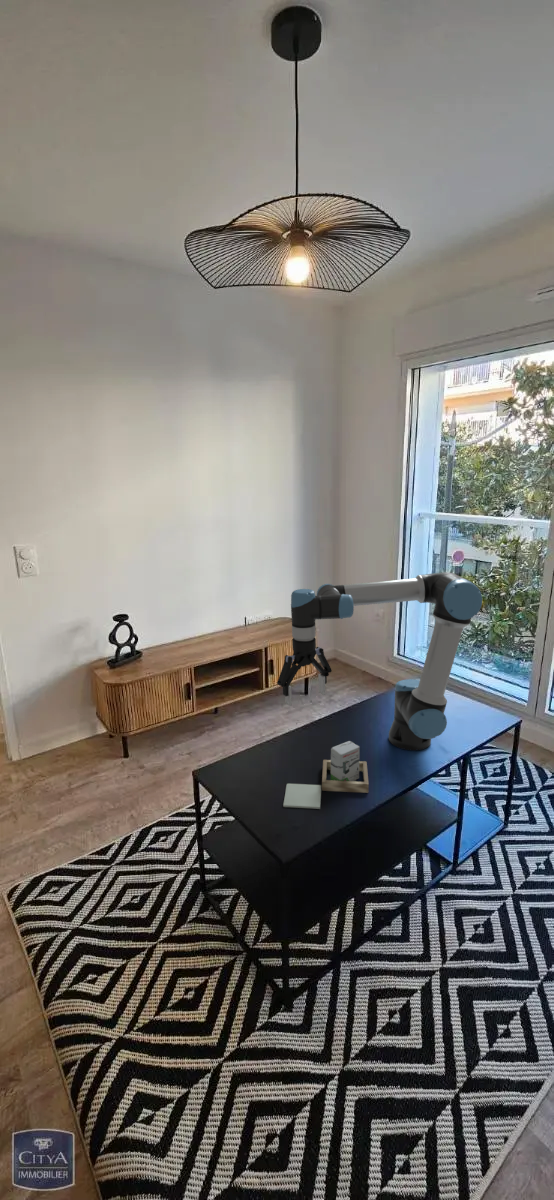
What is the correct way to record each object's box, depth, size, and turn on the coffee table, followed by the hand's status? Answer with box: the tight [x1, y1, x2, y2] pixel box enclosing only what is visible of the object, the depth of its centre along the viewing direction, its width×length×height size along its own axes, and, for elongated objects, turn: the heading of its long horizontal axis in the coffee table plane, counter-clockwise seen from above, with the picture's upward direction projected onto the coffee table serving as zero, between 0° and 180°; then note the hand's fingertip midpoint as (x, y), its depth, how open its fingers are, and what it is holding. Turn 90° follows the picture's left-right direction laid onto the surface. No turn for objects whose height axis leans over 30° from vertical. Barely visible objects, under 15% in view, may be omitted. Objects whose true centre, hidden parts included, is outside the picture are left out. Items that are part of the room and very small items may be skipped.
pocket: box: [321, 759, 370, 794], centre depth 166 cm, size 14×13×3 cm
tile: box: [282, 783, 322, 810], centre depth 159 cm, size 11×11×1 cm
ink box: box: [330, 740, 361, 781], centre depth 165 cm, size 9×5×12 cm, turn 126°
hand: (305, 698), depth 169 cm, fingers open, 13 cm apart
